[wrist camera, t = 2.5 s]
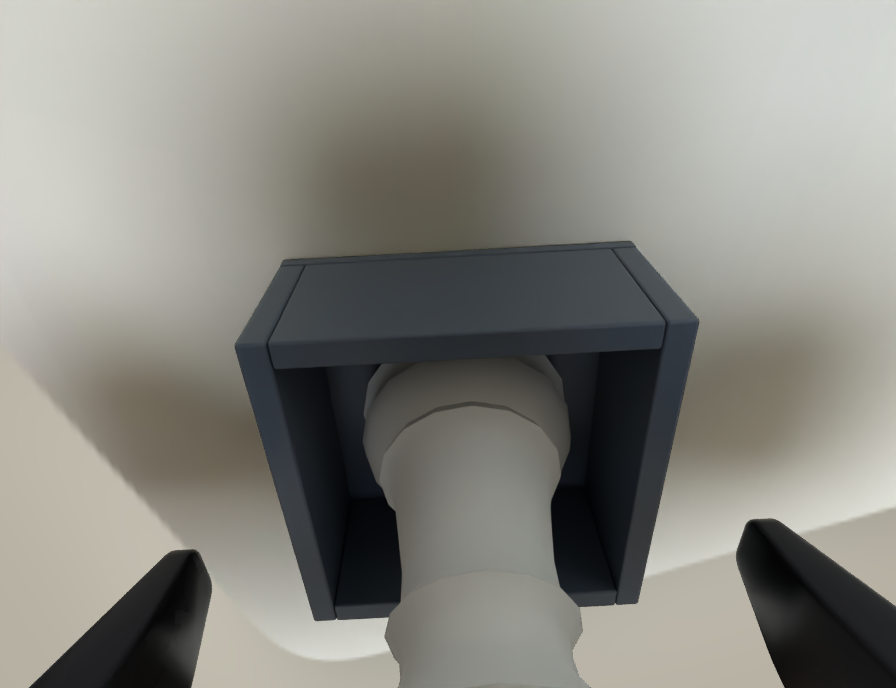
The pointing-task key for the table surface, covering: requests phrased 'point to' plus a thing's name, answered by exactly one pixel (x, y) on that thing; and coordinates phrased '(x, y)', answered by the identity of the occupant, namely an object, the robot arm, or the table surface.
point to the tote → (455, 338)
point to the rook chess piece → (475, 520)
